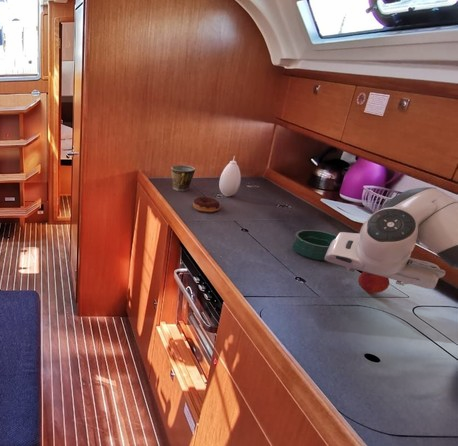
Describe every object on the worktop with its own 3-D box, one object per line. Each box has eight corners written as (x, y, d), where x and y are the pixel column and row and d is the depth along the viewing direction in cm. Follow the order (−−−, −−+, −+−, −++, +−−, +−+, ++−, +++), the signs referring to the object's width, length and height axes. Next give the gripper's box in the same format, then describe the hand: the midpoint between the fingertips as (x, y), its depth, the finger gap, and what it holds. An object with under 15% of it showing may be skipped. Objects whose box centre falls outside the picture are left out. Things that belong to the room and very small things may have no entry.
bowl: (335, 247, 125) (339, 232, 123) (345, 265, 115) (350, 250, 113) (289, 241, 130) (293, 227, 128) (295, 258, 120) (299, 243, 118)
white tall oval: (240, 199, 167) (248, 157, 160) (220, 198, 168) (227, 157, 161) (234, 192, 174) (241, 152, 167) (215, 192, 175) (221, 152, 168)
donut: (215, 215, 152) (217, 205, 151) (189, 210, 158) (190, 201, 156) (221, 207, 160) (223, 198, 158) (196, 202, 165) (197, 194, 164)
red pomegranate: (361, 298, 100) (371, 271, 97) (350, 286, 105) (359, 260, 102) (389, 300, 99) (400, 273, 96) (375, 288, 104) (385, 261, 101)
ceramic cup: (168, 185, 188) (171, 164, 184) (191, 186, 185) (194, 165, 181) (169, 194, 177) (172, 172, 172) (193, 195, 173) (196, 173, 169)
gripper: (452, 257, 82) (438, 279, 92) (331, 229, 96) (330, 251, 106) (442, 283, 81) (429, 303, 91) (322, 252, 95) (321, 272, 105)
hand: (375, 275), depth 99 cm, fingers open, 8 cm apart
